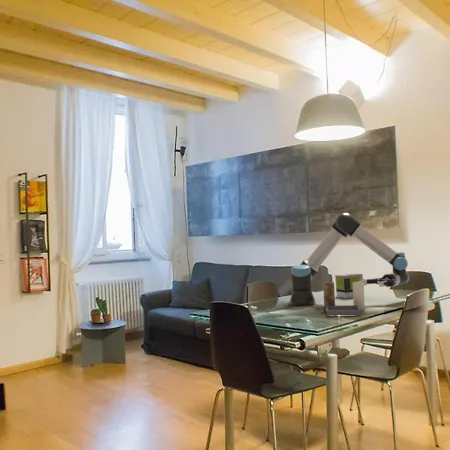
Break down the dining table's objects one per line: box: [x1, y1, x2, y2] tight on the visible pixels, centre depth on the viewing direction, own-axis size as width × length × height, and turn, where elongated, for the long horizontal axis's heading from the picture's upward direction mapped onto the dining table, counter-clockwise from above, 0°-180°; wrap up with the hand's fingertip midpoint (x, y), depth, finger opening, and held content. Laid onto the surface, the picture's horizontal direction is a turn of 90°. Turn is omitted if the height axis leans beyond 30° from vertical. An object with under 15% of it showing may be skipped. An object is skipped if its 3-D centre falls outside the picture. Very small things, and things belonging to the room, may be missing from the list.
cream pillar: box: [352, 282, 366, 311], centre depth 277 cm, size 6×6×15 cm
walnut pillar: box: [322, 281, 336, 310], centre depth 282 cm, size 6×6×15 cm
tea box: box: [334, 273, 364, 299], centre depth 328 cm, size 15×10×15 cm
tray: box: [325, 304, 362, 317], centre depth 265 cm, size 17×17×3 cm
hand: (369, 283), depth 283 cm, fingers open, 13 cm apart
